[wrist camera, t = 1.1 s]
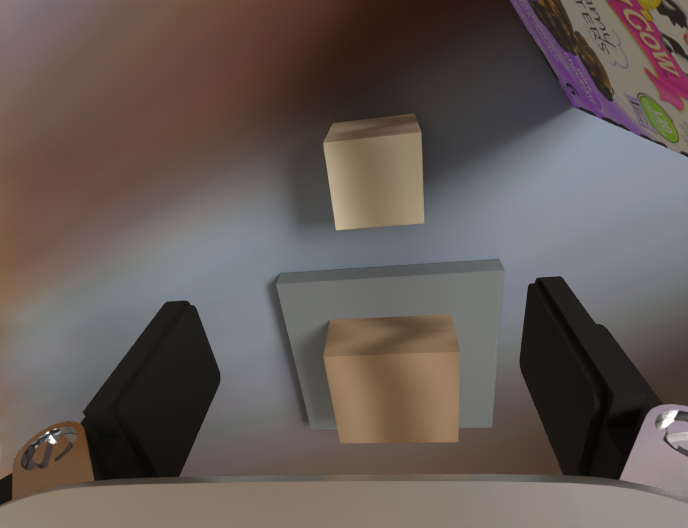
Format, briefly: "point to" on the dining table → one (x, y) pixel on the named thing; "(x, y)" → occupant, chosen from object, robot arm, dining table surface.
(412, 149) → the maple cube
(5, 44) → the dining table surface
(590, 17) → the candy box
